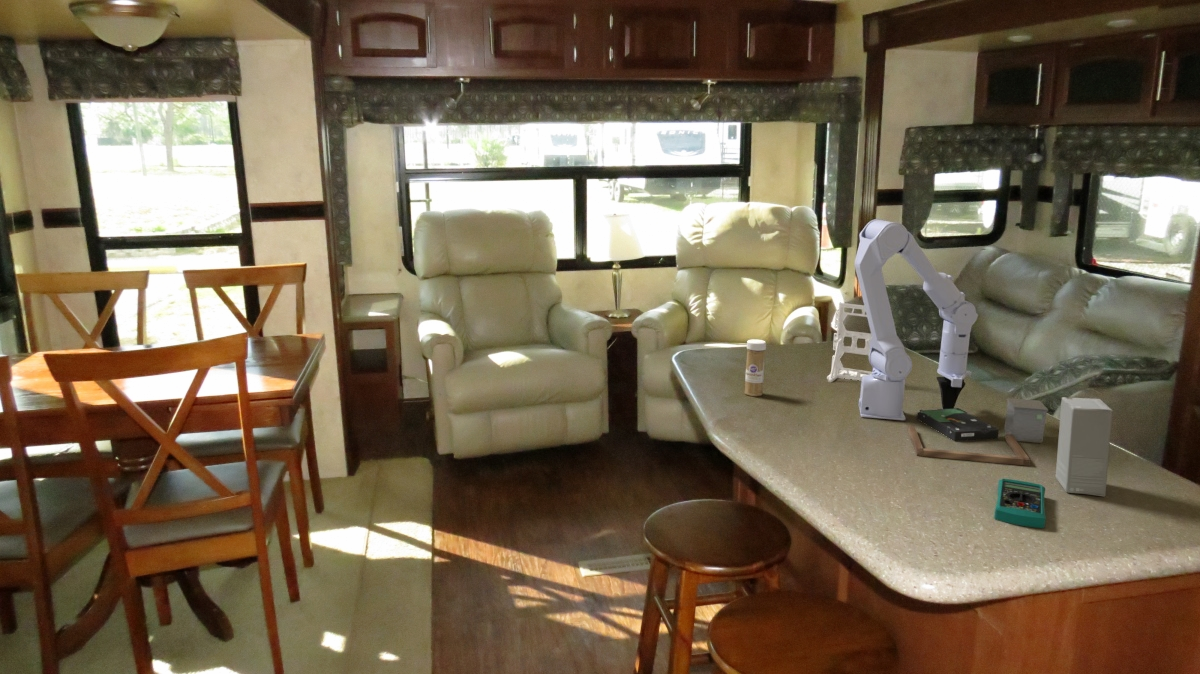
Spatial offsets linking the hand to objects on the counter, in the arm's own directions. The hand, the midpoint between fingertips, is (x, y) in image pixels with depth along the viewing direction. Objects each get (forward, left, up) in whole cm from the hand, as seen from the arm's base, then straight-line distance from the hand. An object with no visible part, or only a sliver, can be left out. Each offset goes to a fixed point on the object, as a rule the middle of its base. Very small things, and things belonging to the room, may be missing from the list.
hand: (947, 409), depth 188 cm
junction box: (+13, -13, -1) cm, 18 cm away
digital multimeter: (+4, -51, -2) cm, 52 cm away
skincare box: (+16, -39, -1) cm, 42 cm away
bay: (0, -23, -1) cm, 23 cm away
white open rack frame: (-18, +24, -1) cm, 30 cm away
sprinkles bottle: (-44, +3, -1) cm, 44 cm away
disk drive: (0, -11, -2) cm, 11 cm away
